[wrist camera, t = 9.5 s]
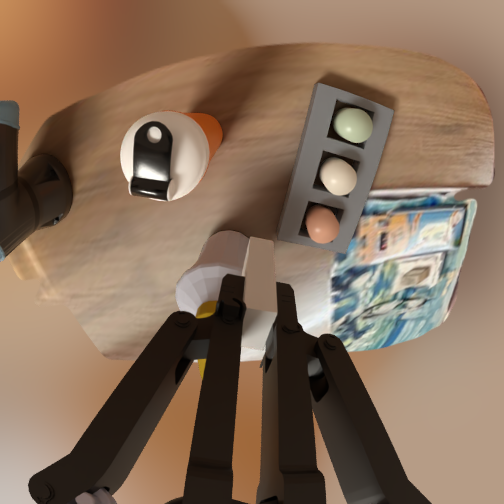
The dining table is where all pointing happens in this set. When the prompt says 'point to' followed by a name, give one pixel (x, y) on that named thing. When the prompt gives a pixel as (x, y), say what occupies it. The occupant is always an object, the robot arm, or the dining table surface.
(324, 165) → the cream egg
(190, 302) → the soap bottle
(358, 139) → the pale green rounded knob
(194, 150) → the shaker bottle
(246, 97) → the dining table surface
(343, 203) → the panel
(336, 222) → the brown egg
